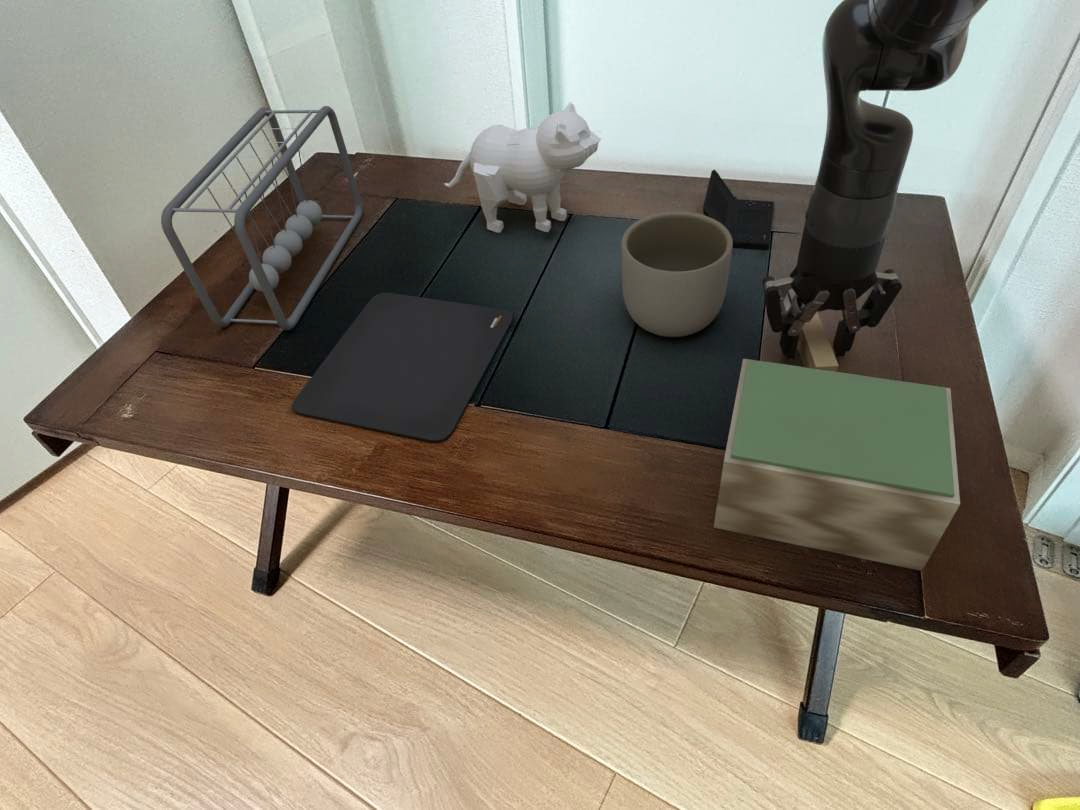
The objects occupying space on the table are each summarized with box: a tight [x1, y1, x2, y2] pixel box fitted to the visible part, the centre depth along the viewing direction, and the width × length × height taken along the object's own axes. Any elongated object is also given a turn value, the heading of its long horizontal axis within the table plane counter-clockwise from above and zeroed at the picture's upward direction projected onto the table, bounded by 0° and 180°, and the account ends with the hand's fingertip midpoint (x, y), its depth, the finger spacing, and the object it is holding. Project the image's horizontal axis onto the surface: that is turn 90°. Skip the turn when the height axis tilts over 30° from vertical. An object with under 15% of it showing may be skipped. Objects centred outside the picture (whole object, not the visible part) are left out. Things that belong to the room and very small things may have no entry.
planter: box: [620, 210, 734, 338], centre depth 85 cm, size 12×12×11 cm
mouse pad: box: [291, 292, 514, 443], centre depth 87 cm, size 23×20×1 cm
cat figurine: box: [443, 101, 602, 234], centre depth 101 cm, size 25×10×17 cm, turn 71°
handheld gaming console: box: [702, 169, 775, 250], centre depth 99 cm, size 12×7×10 cm
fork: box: [780, 289, 839, 372], centre depth 83 cm, size 16×3×3 cm, turn 179°
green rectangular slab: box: [731, 359, 955, 498], centre depth 62 cm, size 17×12×1 cm
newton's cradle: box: [160, 105, 364, 331], centre depth 97 cm, size 30×10×18 cm, turn 170°
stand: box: [713, 358, 961, 572], centre depth 66 cm, size 18×13×10 cm
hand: (813, 352), depth 81 cm, fingers open, 5 cm apart
